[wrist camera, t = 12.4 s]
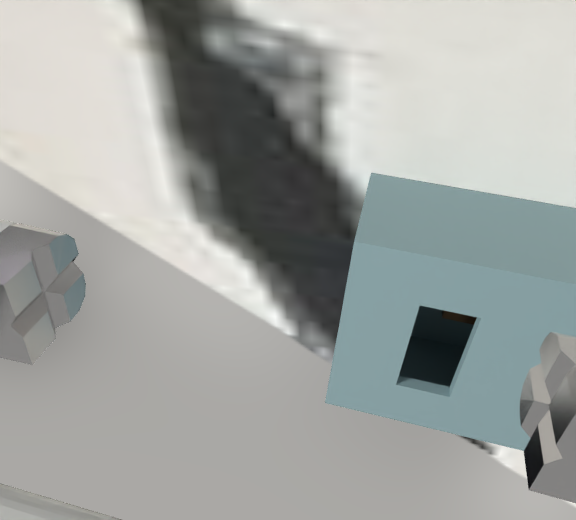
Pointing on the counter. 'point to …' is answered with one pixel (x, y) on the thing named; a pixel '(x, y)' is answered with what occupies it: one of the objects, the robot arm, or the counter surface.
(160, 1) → the counter surface
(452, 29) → the counter surface
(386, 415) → the box
